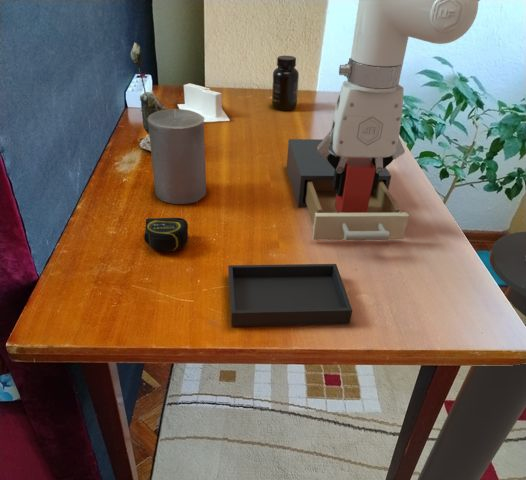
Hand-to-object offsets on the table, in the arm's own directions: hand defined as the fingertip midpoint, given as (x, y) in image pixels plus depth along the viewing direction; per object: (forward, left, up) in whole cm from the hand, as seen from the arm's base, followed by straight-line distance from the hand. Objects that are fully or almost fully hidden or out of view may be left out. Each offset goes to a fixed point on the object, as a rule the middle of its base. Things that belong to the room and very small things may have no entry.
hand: (353, 191), depth 84 cm
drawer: (0, +1, -5) cm, 5 cm away
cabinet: (0, -15, -6) cm, 16 cm away
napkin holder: (+26, -59, -6) cm, 64 cm away
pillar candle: (+30, -12, -6) cm, 33 cm away
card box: (0, 0, -4) cm, 4 cm away
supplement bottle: (+4, -64, -6) cm, 64 cm away
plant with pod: (+36, -34, -6) cm, 50 cm away
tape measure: (+32, +6, -6) cm, 33 cm away
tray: (+14, +22, -6) cm, 27 cm away
